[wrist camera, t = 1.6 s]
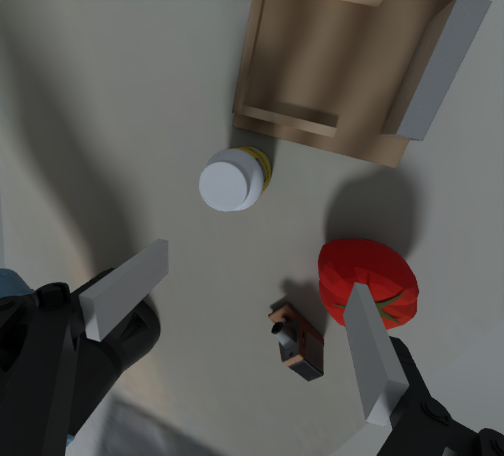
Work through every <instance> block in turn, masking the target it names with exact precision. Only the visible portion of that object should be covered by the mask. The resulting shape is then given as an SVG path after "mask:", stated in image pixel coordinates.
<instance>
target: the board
mask: <svg viewBox="0 0 504 456" xmlns="http://www.w3.org/2000/svg"><path fill="white" fill-rule="evenodd" d="M452 1H453V0H252V4H251V10H250V15H249V21H248V26H247V32H246V38H245V43H244V49H243V54H242V60H241V66H240V71H239V77H238V83H237V88H236V94H235V99H234V105H233V111H232V112H233V113H235V116H234V121H233V126H234V127H238V128H242V129H246V130H249V131H253V132H257V133H261V134H265V135H269V136H273V137H276V138H280V139H284V140H288V141H292V142H296V143H300V144H303V145H307V146H311V147H315V148H319V149H323V150H327V151H330V152H334V153H338V154H342V155H346V156H350V157H354V158H357V159H361V160H365V161H369V162H373V163H377V164H381V165H384V166H388V167H392V168H397V165H398V163H399V161H400V159H401V157H402V155H403V153H404V151H405V149H406V147H407V144H408V142H409V140H400V139H396V138H392V137H388V136H384V135H380V133H381V131H382V128H383V126H384V124H385V121H386V119H387V117H388V114H389V112H390V109H391V107H392V105H393V102H394V100H395V98H396V95H397V93H398V91H399V88H400V86H401V84H402V81H403V79H404V76H405V74H406V72H407V69H408V67H409V65H410V62H411V60H412V58H413V55H414V53H415V51H416V48H417V46H418V44H419V41H420V39H421V36H422V34H423V32H424V29H425V27H426V25H427V23H428V22H429V21H431V20H432V19H433V18H434V17H435V16H436V15H437V14H438V13H439V12H440V11H442V10H443V9H444V8H445V7H446V6H447V5H448V4H449V3H450V2H452Z"/></svg>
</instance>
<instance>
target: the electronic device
mask: <svg viewBox="0 0 504 456" xmlns="http://www.w3.org/2000/svg"><path fill="white" fill-rule="evenodd" d="M268 317H269V318H270V319H271V321H272V322H273V323H274V326H273V328H272V331H271V332H272V333H273V334H274V335H275V336H276V337H277V339H278V340H279V347H280V354H281V360H282V362H283V363H284V364H285V365H286V366H288V367H289V368H290V369H292V370H294V371H295V372H296V373H298V374H299V375H300V376H302V377H303V378H304V379H306V380H307V381H311V380H313V379H316V378H319V377H321V376H323V374H324V372H323V352H324V351H323V347H324V338H323V336H321V335H320V334H319V333H318V332H317V331H316V330H315V329H314V328H313V327H312V326H311V325H310V324H309V323H308V322H307V321H306V320H305V319H304V318H303V317H302V316H301V315H300V314H299V313H298V312H297V311H296V310H295V309H294V308H293V307H292V306H291V304H290V303H288V304H285V305H284V306H283V307H281V308H279V309H278V310H276V311H274V312H273V313H271V314H268Z"/></svg>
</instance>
